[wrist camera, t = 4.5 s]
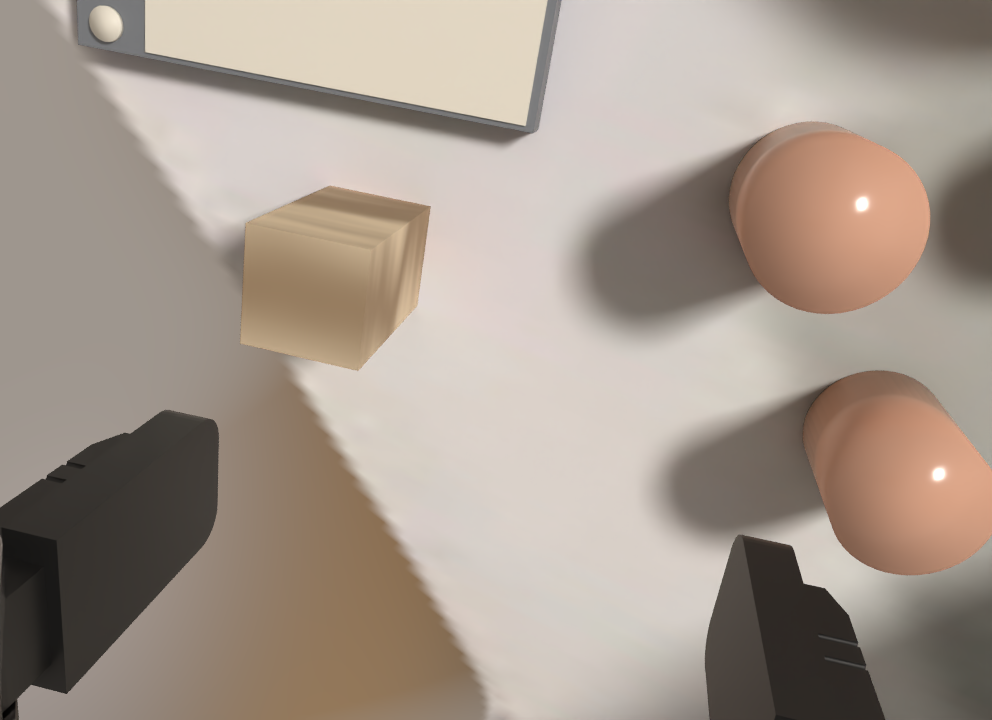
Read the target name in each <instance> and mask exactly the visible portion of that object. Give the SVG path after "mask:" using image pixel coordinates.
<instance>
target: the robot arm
mask: <svg viewBox="0 0 992 720" xmlns="http://www.w3.org/2000/svg"><path fill="white" fill-rule="evenodd" d="M218 443H219V433H218V427H217V425H216V423H215V421H214V420H211V419H208V418H203V417H198V416H193V415H189V414H184V413H180V412H175V411H171V410H164V411H162V412H160V413H159V414H157V415H156V416H154V417H153V418H152V419H150V420H149V421H147V422H146V423H145V424H143V425H142V426H141V427H139V428H138V429H137V430H135V431H134V432H133V433H131V434H128V433H123V434H120V435H117V436H115V437H112V438H109V439H106V440H103V441H100V442H97V443H95V444H92V445H90V446H89V447H87V448H86V449H84V450H83V451H82V452H80V453H79V454H77V455H76V456H75V457H73V458H72V459H70V460H68V461H67V464H66V465H61V466H60V467H59V468H57V469H55V470H54V471H53V472H51V473H50V474H48V475H47V478H46V480H45V479H41V480H40V481H38V482H37V483H35V484H34V485H32V486H31V487H29V488H28V489H26V490H25V491H24V492H22V493H21V494H19V495H18V496H16V497H15V498H13V499H12V500H11V501H9V502H8V503H6V504H5V505H3V506H2V507H1V508H0V720H19V713H18V702H17V698H18V697H19V696H20V695H21V694H22V693H23V692H24V691H25V690H26V689H27V688H28V687H29V686H30V685H35V686H38V687H42V688H46V689H50V690H53V691H57V692H61V693H65V694H67V693H68V692H69V691H70V690H71V689H72V687H73V686H74V685H75V684H76V683H77V682H78V681H79V680H80V679H81V678H82V677H83V676H84V674H86V672H87V671H88V670H89V669H90V668H91V667H92V666H93V665H94V664H95V663H96V662H97V660H98V659H99V658H100V657H101V656H102V655H103V654H104V653H105V652H106V651H107V650H108V648H109V647H110V646H111V645H112V644H113V643H114V642H115V641H116V640H117V639H118V637H120V635H121V634H122V633H123V632H124V631H125V630H126V629H127V628H128V627H129V626H130V624H132V622H133V621H134V620H135V619H136V618H137V617H138V616H139V615H140V614H141V612H143V610H144V609H145V608H146V607H147V606H148V605H149V604H150V602H152V601H153V600H154V598H155V597H156V596H157V595H158V594H159V593H160V592H161V591H162V590H163V589H164V588H165V586H166V585H167V584H168V583H169V582H170V581H171V580H172V579H173V578H174V577H175V576H176V574H178V572H179V571H180V570H181V569H182V568H183V567H184V566H185V565H186V564H187V563H188V562H189V561H190V559H191V558H192V557H193V556H194V555H195V554H196V553H197V552H198V551H199V550H200V549H201V547H202V546H203V545H204V544H205V542H206V541H207V539H208V537H209V535H210V533H211V530H212V528H213V525H214V522H215V518H216V513H217V498H218V447H219V444H218ZM857 645H858V641H857V638H856V635H855V632H854V630H853V627H852V624H851V621H850V618H849V615H848V614H847V613H846V612H845V611H844V610H843V608H842V607H841V606H840V605H839V604H838V603H837V602H836V600H835V599H834V598H833V597H832V596H831V595H830V594H829V592H828V591H827V590H826V589H825V588H821V587H816V586H811V585H807V584H803V580H802V577H801V573H800V570H799V567H798V563H797V560H796V556H795V553H794V550H793V548H792V546H790V545H786V544H782V543H777V542H772V541H768V540H763V539H758V538H754V537H749V536H745V535H738V536H737V537H736V539H735V541H734V543H733V545H732V548H731V552H730V555H729V559H728V562H727V565H726V569H725V572H724V576H723V579H722V583H721V586H720V589H719V593H718V596H717V600H716V603H715V607H714V610H713V613H712V617H711V620H710V624H709V629H708V634H707V641H706V650H705V671H706V682H707V694H708V705H709V717H710V720H885V718H884V715H883V712H882V709H881V706H880V703H879V701H878V698H877V695H876V692H875V689H874V686H873V684H872V681H871V678H870V675H869V672H868V671H866V670H865V667H866V664H865V661H864V658H863V655H862V652H861V649H860V648H859V647H857Z"/></svg>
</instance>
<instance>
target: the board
mask: <svg viewBox="0 0 992 720" xmlns="http://www.w3.org/2000/svg"><path fill="white" fill-rule="evenodd" d="M560 5H561V0H77V22H78V45H83V46H88V47H93V48H99V49H104V50H109V51H114V52H119V53H124V54H129V55H134V56H140V57H145V58H150V59H155V60H160V61H165V62H170V63H175V64H181V65H186V66H191V67H196V68H201V69H206V70H211V71H216V72H222V73H227V74H232V75H237V76H242V77H247V78H252V79H257V80H263V81H268V82H273V83H278V84H283V85H288V86H293V87H298V88H304V89H309V90H314V91H319V92H324V93H329V94H334V95H339V96H345V97H350V98H355V99H360V100H365V101H370V102H375V103H380V104H386V105H391V106H396V107H401V108H406V109H411V110H416V111H421V112H427V113H432V114H437V115H442V116H447V117H452V118H457V119H462V120H468V121H473V122H478V123H483V124H488V125H493V126H498V127H503V128H509V129H514V130H519V131H524V132H529V133H534V132H536V131H537V130H538V127H539V122H540V116H541V111H542V105H543V100H544V94H545V89H546V83H547V77H548V72H549V66H550V61H551V55H552V50H553V44H554V39H555V33H556V27H557V22H558V16H559V11H560Z"/></svg>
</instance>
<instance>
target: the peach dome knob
mask: <svg viewBox="0 0 992 720" xmlns="http://www.w3.org/2000/svg"><path fill="white" fill-rule="evenodd" d="M729 211H730V216H731V220H732V223H733V226H734V229H735V231H736V234H737V236H738V239H739V241H740V244H741V246H742V249H743V251H744V254H745V256H746V259H747V261H748V264H749V266H750V268H751V270H752V272H753V274H754V276H755V277H756V279H757V280H758V281H759V283H760V284H761V285H762V286H763V287H764V288H765V289H766V290H767V292H769V293H770V294H771V295H772V296H774V297H775V298H776V299H778V300H779V301H781V302H783V303H785V304H786V305H789V306H791V307H793V308H796V309H799V310H803V311H806V312H812V313H820V314H833V313H843V312H848V311H853V310H856V309H859V308H862V307H865V306H868V305H870V304H872V303H874V302H876V301H878V300H880V299H881V298H883V297H885V296H886V295H888V294H889V293H890V292H892V291H893V290H894V289H895V288H897V287H898V286H899V285H900V284H901V283H902V282H903V281H904V280H905V279H906V278H907V276H908V275H909V274H910V273H911V271H912V270H913V269H914V267H915V266H916V264H917V262H918V261H919V259H920V257H921V255H922V253H923V250H924V248H925V245H926V242H927V239H928V234H929V228H930V208H929V201H928V198H927V194H926V191H925V189H924V187H923V184H922V182H921V180H920V179H919V177H918V176H917V174H916V173H915V171H914V170H913V169H912V168H911V167H910V166H909V164H908V163H907V162H906V161H904V160H903V159H902V158H901V157H899V156H898V155H897V154H895V153H893V152H892V151H890V150H888V149H886V148H884V147H882V146H880V145H878V144H876V143H874V142H872V141H870V140H868V139H865V138H863V137H861V136H859V135H857V134H855V133H853V132H851V131H849V130H846V129H844V128H842V127H839V126H837V125H833V124H829V123H824V122H801V123H795V124H791V125H788V126H785V127H782V128H780V129H777V130H775V131H773V132H772V133H770V134H768V135H766V136H765V137H764V138H762V139H761V140H759V141H758V142H757V143H756V144H755V145H754V146H753V147H752V148H751V149H750V150H749V151H748V152H747V153H746V155H745V156H744V157H743V159H742V160H741V162H740V163H739V165H738V167H737V169H736V171H735V173H734V176H733V179H732V182H731V186H730V191H729Z"/></svg>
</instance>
